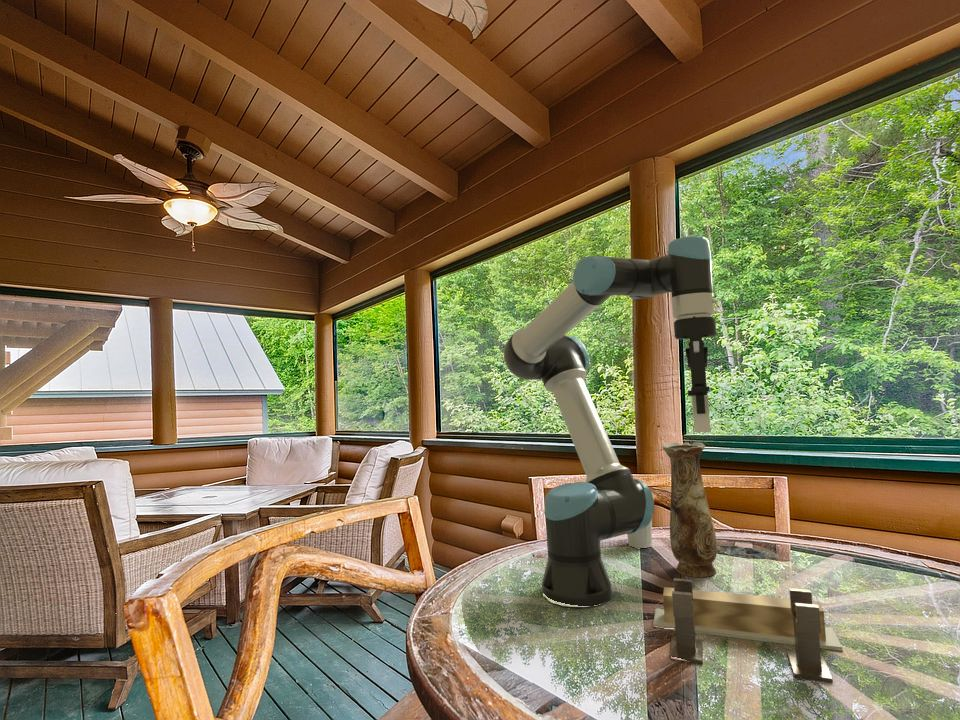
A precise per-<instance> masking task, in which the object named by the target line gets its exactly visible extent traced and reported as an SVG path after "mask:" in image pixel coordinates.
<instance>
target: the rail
mask: <svg viewBox="0 0 960 720" xmlns="http://www.w3.org/2000/svg"><path fill="white" fill-rule="evenodd" d="M692 590H693V609H694V623H695V626H702V627H710V628H719V629H727V630H736V631H744V632H753V633H761V634H770V635H778V636H786V637H794V624H793V615H792V613H791V606H790V598H783V597H773V596H763V595H751V594H743V593H731V592H721V591H720V592H719V591H708V590H700V589H692ZM672 591H674V587H667V586H666V587H665V586H664V587H663V593H662V598H663V599H662V600H663V601H662V602H663V609H664V617H665V622H668V623H675V617H674V614H673V600H672ZM812 604H813V605H818V607H819V613H820V625H821V633H819V640H820V641H826V633H825V627H826V624H825V612H824V609H823V606H822V605H821V603H820V601H815V600H812Z"/></svg>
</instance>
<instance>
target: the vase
mask: <svg viewBox="0 0 960 720" xmlns="http://www.w3.org/2000/svg"><path fill="white" fill-rule="evenodd" d="M661 447H662V448H661V449H663V451H664V452H665V453H666V455H667V457H668V458H669V461H670V471H671V472H670V475H671V476H670V477H671V478H670V479H671V480H670V482H671V483H670V487H671V488H670V491H671V492H670V508H669V509H670V510H669V511H670V513H669V514H670V515H669V516H670V517H669V518H670V519H669V538H670V539H669V540H670V549H671V552H672V555H673V556H674V558H675V560H676V561H678V564H677V566H676V571H677V573H679V574H681V575H684V576H688V577H692V578H693V577H694V578H707V577H712V576H713V575H715V574H717V570H716V568H715V566H714V564H713V563H714V562H715V560H716V558H717V555H718V553H717V551H718V548H717V544H718V543H717V536H716V531H715V526H714V523H713V518H712V515H711V510H710V507H709V503H708V499H707V493H706V490H705V487H704V480H703V477H702V472H701V471H702V470H701V467H700V457H701V455H702V453H703V451H704V449H705V447H706V445H705V444H704V443H703V442H697V441H696V442H693V443H692V444H690V443H688V442H683V443H681V444H680V443H678V442H669V443H665V445H663V446H661Z"/></svg>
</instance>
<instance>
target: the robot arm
mask: <svg viewBox="0 0 960 720" xmlns="http://www.w3.org/2000/svg"><path fill="white" fill-rule="evenodd" d="M667 248H668V250H667V254H665V255H663V256H660V257H657V258H654V259H653V258H652V259H640V258H627V257H625V258H624V257H613V256H604V255H596V256H593V255H589V256H584V257H583V258H580V260H578V262H577V263H576V267H575V269H574V270H573V273H572V280H573V281H572V282H571V283H570V284H569V285H568V286H567V287H566V288H564V290H563V291H562V292H561V293H560V294H559V295H557V297H555V299H553V300H552V301H551V302H550V304H548V305H547V306H546V307H545V308H544V309H543V310H542V311H541V312H540V313H539V314H538V315H537V316H536V317H535V318H534V319H533V320H532V321H531V322H530V323H529V324H528V325H526V327H523V328H519V329H517V330H516V331H515V332H514V333H513V334H512V335H511V336H510V337H509V338H508V339H507V341H506V344H505V346H504V349H503V358H504V359H503V360H504V363H505V366H506V368H507V369H508V371H510V372H511V374H512V375H514V376H515V377H517V378H519V379H522V380H526V381H536V380H538V381H539V380H541V381H542V383H543V386H544V388H545V390H546V392H549V393H552V394H553V395H554V398H555V401H556V404H557V405H558V408H559V411H560V413H561V416H562V418H563V421H564V423H565V426H566V428H567V430H568V433H569V435H570V438H571V440H572V443H573V445H574V449H575V451H576V454H577V456H578V459H579V460H580V463H581V465H582V469H583V471H584V473H585V476H586V479H585V481H575V482H572V483H571V482H568V483H567V482H566V483H563V484H559V485H557V486H554V487H552V488H551V489H549V490H548V491H547V493H546V495H545V497H544V511H543V512H544V513H543V515H544V516H545V529H546V534H545V535H546V544H547V545H546V547H547V561H546V565H545V569H544V572H543V577H542V581H541V592H542V591H543V593H544V594H545V595H546V596H547V597H548V598H550V599H552V600H554V601H557V602H561V603H565V604H570V605H578V606H594V605H598V606H600V605H599V604H601V605H603V604H605V603H607V602H608V601H609V600H610V599H611V598H612V593H613V592H612V583H611V580H610V578H609V575H608V572H607V569H606V566H605V564H604V562H603V560H602V551H601V541H603V540H608V539H612V538H616V537H619V536H625V535H627V534H633V533H634V532H636V531H639V530H642V529H644V528H646V527H647V526H648V525H649V523H650V522H651V520H652V521H653V516H654V515H653V514H654V513H655V502H654V497H653V493H652V491H651V489H650V488H649V486H648V485H647V484H646V483H645V482H643V481H642V480H640V479H638V478H634V477H633V475H632V472H631V470H630V468H628V467H626V466H624V465H622V464H621V463H620V461H619V458H618V456H617V454H616V452H615V449H614V447H613V445H612V442H611V440H610V438H609V435H608V433H607V432H606V429H605V426H604V425H603V422H602V420H601V417H600V415H599V413H598V410H597V408H596V406H595V404H594V401H593V399H592V396H591V395H590V392H589V390H588V388H587V385H586V383H585V379H586V377H587V373H588V372H587V370H588V369H589V368H588V367H589V363H590V362H589V361H588V359H589V354H588V351H587V348H586V346H585V344H584V343H583V342H582V341H581V340H580V339H579V338H577V337H575V336H572V335H566V334H568V333H569V332H570V331H571V330H573V329H574V328H575V327H576V326H577V325H578V324H580V323H581V322H582V321H583V320H584V319H585V318H586V317H588V316H589V315H590V314H591V313H593V312H594V311H595V310H596V309H597V308H598V307H600V306H601V305H602V304H604V303H605V301H607V300H608V299H609V298H610V297H613V296H628V297H630V298H631V299H633V300H641V299H651V298H653V297H657V296H659V295H664V294H669V293H671V308H672V309H671V310H672V317H673V318H674V319H676V320H674V322H673V330H674V333H673V334H674V338H675V339H676V340H689V341H688V344H687V345H688V347H686V348H685V351H684V352H685V357H686V359H687V367H688V368H689V369H690V379H691V387H690V390H687V396H688V397H691V406H692V419H693V430H694V431H693V432H694V433H711V432H712V431H711V420H710V419H711V418H710V417H711V416H710V406H709V403H710V402H709V396H708V393H709V392H711V389H710V386H709V385H707V374H706V372H707V371H706V368H707V367H708V356H709V350H708V346H705V342H704V340H703V339H707V338H713V337H716V336H717V323H716V321H717V320H716V319H717V318H715V317H714V316H712V315H714V314H715V313H716V312H715V305H714V304H717V303H718V299H717V298H716V297H715V298H714V289H713V271H712V270H713V267H712V266H713V265H712V260H713V257H712V255H711V254H712V253H711V247H710V241H709V240H708V238H707V237H704V236H701V235H690V236H683V237H682V236H681V237H680V238H676V239H673V240H672V241H670V242H669V243H668V247H667ZM594 607H595V606H594Z"/></svg>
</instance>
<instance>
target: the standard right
mask: <svg viewBox="0 0 960 720" xmlns="http://www.w3.org/2000/svg"><path fill="white" fill-rule="evenodd" d="M788 593H789V599H790V606H791V613H792V615H793V624H794V637H795V645H794V649H795V651H790V650H789V651H788V650H787V651H786V654H787V658H788V661H789V664H790V667H791V670H792V674H793V677H794V678H795V679H803V680H811V681H818V682H825V683H831V684H833V683H834V682H833V677H832V675H831V672H830V670H829V667H828V665H827V663H826V661H825V658H824V656H823V654H822V653H821V648H820V640H819V633H821V625H820V613H819V607H818V605H813V604H812V601H813V597H812V590H811V589H804V588H803V589H801V588H792V587H791V588H790V587H789V588H788ZM821 654H822V655H821Z"/></svg>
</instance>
